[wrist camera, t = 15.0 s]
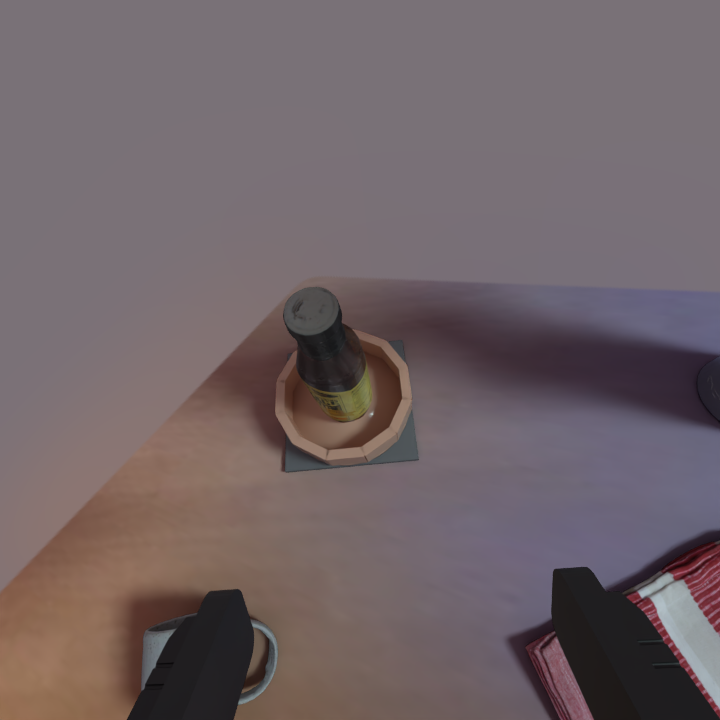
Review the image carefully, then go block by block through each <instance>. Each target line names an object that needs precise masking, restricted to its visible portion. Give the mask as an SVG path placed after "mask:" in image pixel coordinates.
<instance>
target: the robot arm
mask: <svg viewBox="0 0 720 720" xmlns="http://www.w3.org/2000/svg"><path fill="white" fill-rule="evenodd" d="M697 386H698V392H699V395H700V397H701V400H702V402H703V403H704V405H705V406H706V408H707V409H708V410H709V411H710V412H711V413H712V414H713V416H714V417H716V418H717V419H718V420H719V421H720V356H719V357H717V358H716V359H714V360H712V361H711V362H709V363H707V364H706V365H705V366H704V367H703V368H702V369H701V371H700V373H699V375H698V381H697ZM551 614H552V621H553V626H554V629H555V633H556V636H557V639H558V641H559V644H560V646H561V648H562V650H563V653H564V655H565V657H566V659H567V661H568V664H569V666H570V668H571V670H572V673H573V675H574V677H575V679H576V681H577V684H578V686H579V688H580V690H581V693H582V695H583V697H584V699H585V701H586V704H587V706H588V708H589V710H590V712H591V715H592V717H593V719H594V720H720V718H719V716H718V715H717V714H716V712H715V711H714V709H713V708H712V707H711V705H710V704H709V702H708V701H707V700H706V698H705V697H704V695H703V694H702V693H701V691H700V690H699V688H698V687H697V686H696V684H695V683H694V681H693V680H692V678H691V677H690V676H689V674H688V673H687V671H686V670H685V669H684V667H681V665H680V663H679V660H678V659H677V657H676V656H675V655H674V653H673V652H672V650H671V649H670V648H669V646H668V645H667V644H665V643H664V641H663V638H662V636H661V635H660V634H659V632H658V631H657V629H656V628H655V627H654V625H653V624H652V622H651V621H650V620H649V618H648V617H647V615H646V614H645V613H644V612H643V611H642V610H641V609H640V608H639V607H637V606H636V605H635V604H634V603H633V602H632V601H630V600H629V599H628V598H627V597H626V596H625V595H623V594H622V593H621V592H620V591H615V592H605V590H604V589H603V587H602V585H601V584H600V582H599V581H598V579H597V578H596V576H595V575H594V573H593V572H592V571H591V570H590V569H589V568H588V567H576V568H561V569H554V571H553V583H552V608H551ZM253 646H254V631H253V626H252V623H251V620H250V617H249V614H248V611H247V608H246V605H245V602H244V598H243V595H242V593H241V591H240V590H239V589H234V590H219V591H210V592H209V593H208V594H207V595H206V597H205V598H204V600H203V602H202V605H201V607H200V609H199V611H198V613H197V615H196V616H192V617H186V619H185V620H184V621H183V622H182V623H181V624H180V626H179V627H178V628H177V629H176V630H175V631H174V633H173V634H172V635H171V636H170V637H169V638H168V640H167V642H166V644H165V646H164V648H163V650H162V652H161V654H160V656H159V658H158V660H157V662H156V667H155V668H153V670H152V672H151V674H150V676H149V677H148V679H147V681H146V683H145V688H144V690H142V691H141V693H140V695H139V697H138V699H137V701H136V703H135V705H134V707H133V709H132V711H131V713H130V715H129V717H128V719H127V720H233V719H234V716H235V713H236V709H237V706H238V702H239V699H240V695H241V692H242V689H243V685H244V682H245V678H246V675H247V671H248V668H249V665H250V661H251V657H252V653H253Z"/></svg>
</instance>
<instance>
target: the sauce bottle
mask: <svg viewBox="0 0 720 720" xmlns="http://www.w3.org/2000/svg"><path fill="white" fill-rule="evenodd" d="M283 318H284V321H285V325H286V327H287V329H288V331H289V333H290V334H291V335H292V337H293V338H295V339H296V340H297V342H298V348H297V358H296V368H297V371H298V374H299V376H300V377H301V379H302V381H303V382H304V384H305V385H306V386H307V388H308V390H309V391H310V393H311V394H312V396H313V398H314V399H315V400H316V402H317V403H318V405H319V406H320V408H321V409H322V411H323V412H324V413H325V414H326V415H327V416H328V417H330V418H332V419H334V420H336V421H339V422H342V423H346V422H352V421H355V420H357V419H360V418H361V417H363V416H364V415H365V413H366V412H367V411H368V409H369V407H370V404H371V401H372V388H371V383H370V378H369V373H368V368H367V363H366V358H365V354H364V352H363V349H362V345H361V342H360V340H359V338H358V336H357V335H356V333H355V332H354V331H353V330H352V329H351V328H350V327H348V326H346V325H344V324H342V322H341V321H342V312H341V309H340V305H339V303H338V300H337V299H336V297H335V296H334V295H333V294H332V293H331V292H329V291H328V290H327V289H324V288H320V287H309V288H304V289H302V290H300V291H298V292H296V293H295V294H293V295H292V296H291V297H290V298H289V299H288V301H287V302H286V305H285V308H284V313H283Z"/></svg>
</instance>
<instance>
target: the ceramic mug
mask: <svg viewBox="0 0 720 720" xmlns="http://www.w3.org/2000/svg"><path fill="white" fill-rule="evenodd" d="M196 615H197V613H194V614H189V615H185V616H181V617H177V618H173V619H171V620H167V621H164V622H162V623H159V624H156V625H154V626H152V627H150V628H148V629H147V630H146V631H145V633H144V636H143V657H142V678H141V691H142V690H144V688H145V683H146V681H147V679H148V677H149V676H150V674H151V672H152V670H153V668H155V667H156V662H157V660H158V658H159V656H160V654H161V652H162V650H163V648H164V646H165V644H166V642H167V640H168V638H169V637H170V636H171V635H172V634H173V633H174V631H175V630H176V629H177V628H178V627H179V626H180V624H181V623H182V622H183V621H184V620H185V619H186V617H192V616H196ZM250 620H251V623H252V626H253V627H254V628H257V629H259V630H261V631H262V632H263V633H264V634H266V636H267V637H268V638H269V656H268V663H267V665H266V667H265V671H266V674H265V677H264V679H263V680H262V681H261V682H260V683H259V685H257V686H256V687H254V688H252V689H251V690H249V691H247V692H245V693H242V694H241V695H240V699H239V702H238V705H241V704H243V703H247V702H248V701H250V700H253V699H254V698H256V697H257V696H258V695H260V694H261V693H262V692H263V691H264V690H265V688H266V687H267V686H268V684H269V683H270V681H271V679H272V677H273V675H274V673H275V669H276V664H277V657H278V648H277V641H276V638H275V636H274V634H273V632H272V631H271V629H270V628H269V627H268V626H266V625H265V624H264V623H262V622H260V621H257V620H252V619H250Z"/></svg>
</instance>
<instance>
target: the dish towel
mask: <svg viewBox="0 0 720 720" xmlns="http://www.w3.org/2000/svg"><path fill="white" fill-rule="evenodd" d="M622 594H623V595H625V596H626V597H627V598H628V599H629V600H630V601H632V602H633V603H634V604H635V605H636V606H637V607H639V608H640V609H641V610H642V611H643V612H644V613H645V614H646V615H647V617H648V618H649V620H650V621H651V622H652V624H653V625H654V627H655V628H656V629H657V631H658V632H659V634H660V635H661V636H662V638H663V641H664V643H665V644H667V645H668V646H669V648H670V649H671V650H672V652H673V653H674V655H675V656H676V657H677V659H678V660H679V663H680V665H681V667H684V669H685V670H686V671H687V673H688V674H689V676H690V677H691V678H692V680H693V681H694V683H695V684H696V686H697V687H698V688H699V690H700V691H701V693H702V694H703V695H704V697H705V698H706V700H707V701H708V702H709V704H710V705H711V707H712V708H713V709H714V711H715V712H716V714H717V715H718V716H719V718H720V541H718V542H709V543H707V544H704V545H700V546H698V547H696V548H694V549H692V550H690V551H688V552H686V553H684V554H683V555H681V556H680V557H678V558H676V559H675V560H673V561H671V562H670V563H669V564H667V565H666V566H665V567H663V569H662V570H661V571H660V572H658V573H657V574H655V575H654V576H652V577H650V578H649V579H647V580H646V581H644V582H642V583H640V584H638V585H636V586H635V587H632V588H630V589H628V590H626V591H625V592H623V593H622ZM525 648H526V650H527V652H528V654H529V656H530V658H531V661H532V663H533V665H534V667H535V669H536V671H537V673H538V675H539V677H540V679H541V681H542V683H543V685H544V687H545V689H546V691H547V693H548V695H549V697H550V699H551V701H552V703H553V705H554V708H555V710H556V712H557V714H558V716H559V718H560V720H594V719H593V717H592V715H591V712H590V710H589V708H588V706H587V704H586V701H585V699H584V697H583V695H582V693H581V690H580V688H579V686H578V684H577V681H576V679H575V677H574V675H573V673H572V670H571V668H570V666H569V664H568V661H567V659H566V657H565V655H564V653H563V650H562V648H561V646H560V644H559V641H558V639H557V636H556V633H555V631H553V632H551V633H549V634H546V635H545V636H543V637H541V638H539V639H538V640H535V641H532V642H531V643H529V644H528V645H527V646H526V647H525Z"/></svg>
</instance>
